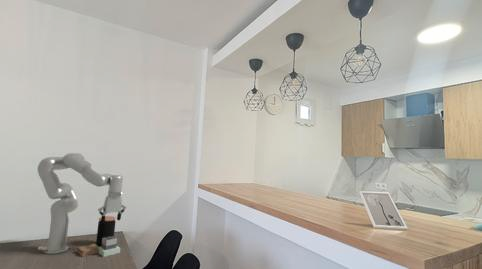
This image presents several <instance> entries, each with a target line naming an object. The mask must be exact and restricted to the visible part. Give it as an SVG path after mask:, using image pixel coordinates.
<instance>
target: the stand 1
mask: <svg viewBox="0 0 482 269" xmlns="http://www.w3.org/2000/svg"><path fill="white" fill-rule="evenodd" d="M98 247H99V246H97V245H96V243H92V244H88V245H82V246H77V247H76V253H77V254H78V255H79V256H80V257H82V258H84V257H88V256H92V255H96V254H99V253H98V252H99V248H98Z"/></svg>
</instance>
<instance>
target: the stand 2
mask: <svg viewBox="0 0 482 269" xmlns="http://www.w3.org/2000/svg"><path fill="white" fill-rule="evenodd" d="M98 248H99V252H98V253H97V254H99V256H102V257H109V256H112V255H116V254H120V253H121V247H119V246H118V245H116V248H113V249H109V250H104V249H103V248H102V247H98Z"/></svg>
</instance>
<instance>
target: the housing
mask: <svg viewBox="0 0 482 269" xmlns="http://www.w3.org/2000/svg"><path fill="white" fill-rule="evenodd" d="M117 241H118V238H117V237H116V236H115V235H114V236H109V237H104V238H102V248H103V249H104V250H109V249H113V248H116V246H117V243H118V242H117Z"/></svg>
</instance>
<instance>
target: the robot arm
mask: <svg viewBox="0 0 482 269" xmlns="http://www.w3.org/2000/svg"><path fill="white" fill-rule="evenodd" d="M66 169H71V170H74V171H75V172H77V173H78V174H79V175H81V177H82V178H83V179H84V180H85V181H86V182H88V183H90V184H91V185H93V186H96V187H104V186H108V192H107V196H105V199H104V203H103V206H101V207H99V208H97V211H98V213H99V215H100V216H101V221H102V222H103V223H104V222H105V216H106V215H107V214H108V213H109V214H111V213H117V216H116V220H117V221H121V219H122V214H123V213H124V212H125V210H126V209H127V206H125V205H123V203H122V202H123V200H122V195H123V194H124V192H123V191H122V187H123V179H124V177H123V176H122V175H118V174H111V173H99V172H96V171H95V170H93V168H92V163H91V162H89V161H87V160H86V159H85V156H84V155H82V153H73V152H70V153H67V154H65V155H64V156H58V157H57V156H49V157H45V158H43V159H42V160H40V162H39V163H38V166H37V174H38V176H39V178H40V180H41V182H42V184H43V187H44V189H45V192H46V195H47V196H48V198H49V199H50V200H55V202H53V203H52V204H51V206H50V224H49V225H50V227H49V233H48V234H49V235H48V242H47V243H46V244H45V245H41V246H38V247H37V251H43V253H45V254H47V255H48V254H49V255H52V254H53V255H54V254H55V255H56V254H60V253H64V252H67V251H68V250H69V248H70V247H69V246H68V245H67V240H68V230H69V224H70V223H69V222H70V220H69V219H70V218H69V213H72V212H74V211H76V209H77V208H78V207H79V202H78V198H77V196H76V193H75V191H74V188H73V187H72V186H71V185H70V184H69V183H66V182H63V183H62V182H61V181H60V178H59V176H58V175H57V173H56V172H54V171H61V170H66ZM58 199H59V200H58ZM102 211H103V212H102Z"/></svg>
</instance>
